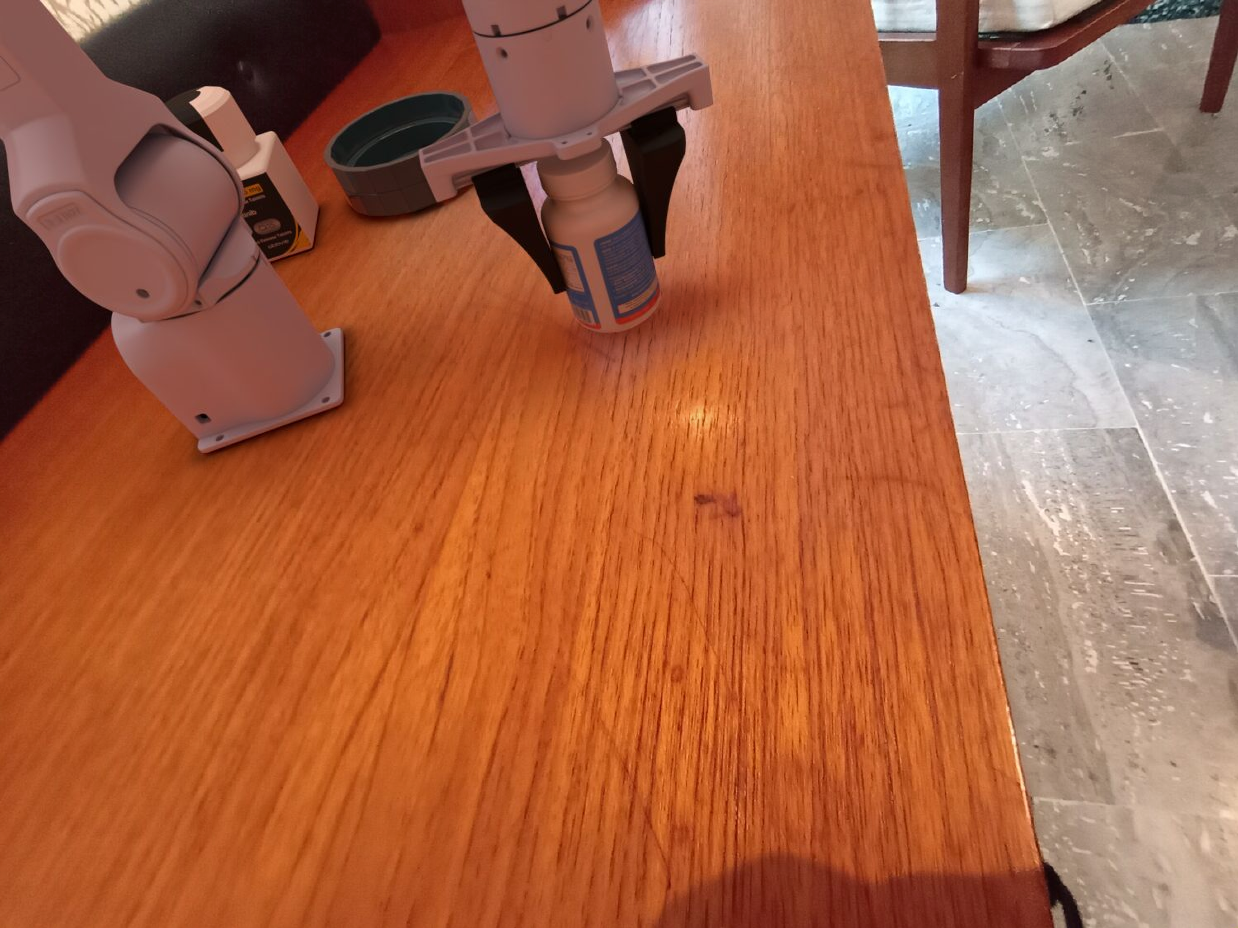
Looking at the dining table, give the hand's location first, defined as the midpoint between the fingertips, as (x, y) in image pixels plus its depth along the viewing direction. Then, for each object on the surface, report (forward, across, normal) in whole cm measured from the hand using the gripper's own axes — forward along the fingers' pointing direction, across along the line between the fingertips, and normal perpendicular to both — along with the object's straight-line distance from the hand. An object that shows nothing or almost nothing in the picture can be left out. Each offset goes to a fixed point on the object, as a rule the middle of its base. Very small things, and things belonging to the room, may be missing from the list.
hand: (605, 266), depth 42 cm
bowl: (+4, -11, +28) cm, 30 cm away
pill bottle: (+3, 0, 0) cm, 3 cm away
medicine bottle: (+4, -24, +26) cm, 36 cm away
